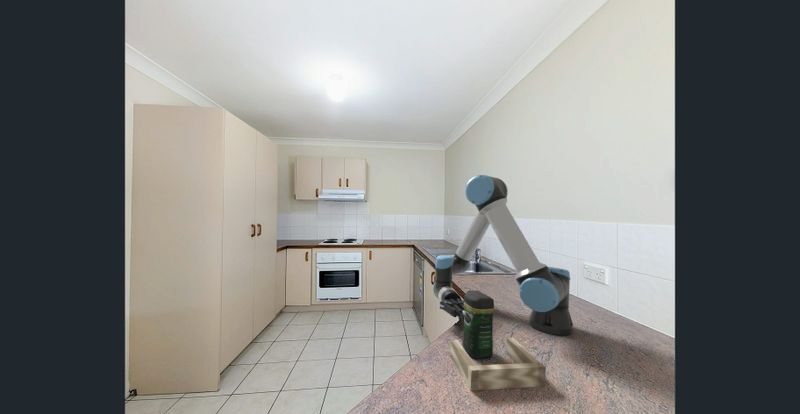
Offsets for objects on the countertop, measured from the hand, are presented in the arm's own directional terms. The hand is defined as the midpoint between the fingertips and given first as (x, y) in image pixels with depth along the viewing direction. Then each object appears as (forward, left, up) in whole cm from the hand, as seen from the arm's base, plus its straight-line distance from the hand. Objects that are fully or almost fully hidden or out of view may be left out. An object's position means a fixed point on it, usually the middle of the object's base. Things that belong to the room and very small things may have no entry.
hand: (471, 322), depth 94 cm
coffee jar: (0, +5, -8) cm, 9 cm away
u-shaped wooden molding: (-1, +15, -8) cm, 16 cm away
